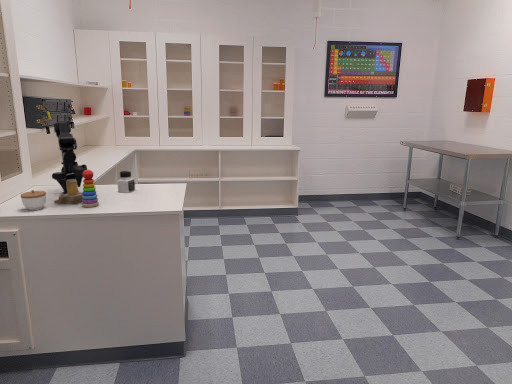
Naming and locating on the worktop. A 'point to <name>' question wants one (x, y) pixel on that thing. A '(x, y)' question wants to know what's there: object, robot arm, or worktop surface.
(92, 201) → the stacking toy
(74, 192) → the amber jar
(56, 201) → the walnut plinth
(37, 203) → the lidded jar
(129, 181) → the medicine bottle
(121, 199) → the worktop surface
